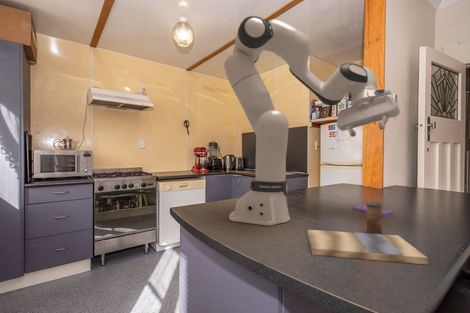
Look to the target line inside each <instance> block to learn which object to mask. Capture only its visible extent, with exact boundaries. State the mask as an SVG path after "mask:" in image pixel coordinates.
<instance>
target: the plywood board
mask: <svg viewBox="0 0 470 313" xmlns="http://www.w3.org/2000/svg"><path fill="white" fill-rule="evenodd" d="M307 238H308V241H309V242H308V243H309V246H310V250H311V254H312V255H313V256H324V257H326V256H327V257H337V258H346V259H347V258H349V259H356V260H358V259H360V260H368V261H369V260H370V261H371V260H372V261H382V262H393V263H394V262H395V263H403V264H404V263H405V264H416V265H428V264H429V258H428V257H427V256H426V255H425V254H423V253H422V252H421V251H420V250H418V249H417V248H415V247H414V246H412V245H411V244H410V243H409V242H407V241H406V240H405V239H403V238H402V237H401V236H399V235H394V234H383V233H382V234H369V233H367V232H366V233H364V232H353V231H352V232H351V231H338V230H337V231H336V230H321V229H320V230H319V229H307Z"/></svg>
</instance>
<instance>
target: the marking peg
mask: <svg viewBox="0 0 470 313" xmlns="http://www.w3.org/2000/svg"><path fill="white" fill-rule="evenodd" d="M366 206H367V213H366V233H369V234H382V235H383V216H382V209H383V203H381V202H377V201H367V202H366Z"/></svg>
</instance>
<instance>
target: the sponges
mask: <svg viewBox="0 0 470 313" xmlns="http://www.w3.org/2000/svg"><path fill="white" fill-rule="evenodd" d="M352 211H354V212H355V211H357V212H360V213H365V214H367V205H364V204H359V205H356V206H352ZM391 215H393V210H387V209H383V208H382V218H384V217H388V216H391Z"/></svg>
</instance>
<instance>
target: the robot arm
mask: <svg viewBox="0 0 470 313" xmlns="http://www.w3.org/2000/svg"><path fill="white" fill-rule="evenodd" d="M264 51H268V52H271V53H273V54H275V55H276V56H277V57H279V58H281V59H283V61H285V63H286V64H287V66H288V67H289V68H288V69H289V72H290V73H291V74H292V75H293V77H294V78H295V79H297V80H298V81H299V82H300V83H301V84H303V85H304V86H305V87H306V88H307V89H308V90H309V91H310V92H312V93H313V94H314V95H315V96H316V97H317V98H318V99H319V101H320V102H321V103H322V104H324V105H327V106H336V105H338V104H339V103H340V102H341V101H342V100H343V99H344V97H346V96H347V95H348V94H351V106H349V107H347V108H345V109H342V110H340V112H338V113H337V120H336V127H337V129H338V130H340V131H341V132H344V131H348V132H349V135H350V137H351V138H352V137H353V138H354V137H356V135H357V132H356V131H355V130H354V129H355V128H358V127H362V126H366V125H369V124H372V123H378V124H377V125H378V129H379V130H384V129H386V125H387V123H388V122H389V119H391V118H394V117H398V116H399V115H400V114H401V111H400V107H399V104H398V102H397V101H396V98H395V97H394V96H393V94H392V91H391V90H390V89H389V88H380V89H379V88H378V82H377V76H376V75H375V72H374V71H373V69H372V68H370V67H368V66H361V65H360V64H357V63H353V62H347V63H343V64H341V65H340V66H339V67H338V68H337V69H335V71H334V72H333V73H332V74H331V76H330V77H329V78H328V79H327V80H326V81H322V80H321V79H319V78H318V77H317V76H316V75H315V74H313V73H312V72H311V70H310V69H309V67H308V61H309V57H310V53H311V42H310V39H309V37H308V36H307V35H306V33H304V32H302V31H301V30H299V29H297V28H296V27H294V26H292V24H291V25H290V24H289V23H287V22H284V21H282V20H280V19H275V18H272V19H270V20H269V21H268V19H265V18H262V17H261V16H257V15H249V16H246V17H245V18H244V19H243V20H242V21H241V23H240V25H239V26H238V29H237V34H236V36H235V39H234V47H233V53H231V54H230V55H229V56H227V58H226V59H225V61H224V65H223V67H224V71H225V75H226V77H227V79H228V82H229V84H230V86H231V89H232V90H233V92H234V95H235V97H236V98H237V100H238V102H239V104H240V106H241V107H242V109H243V112H244V113H245V116H246V118H247V120H248V122H249V124H250V126H251V128H252V130H253V133H254V135H255V138H256V139H255V179H252V180H250V183H249V189H250V190H248V191H247V192H246V193H245V194H244V195H242V196H241V197H240V198H238V200H237V201H236V204H235V207H234V208H235V209H234V211H231V212H230V213H229V215H228V220H230V221H231V222H236V223H237V222H238V223H245V224H251V225H252V224H253V225H262V226H275V225H278V224H283V223H287V222H289V221H290V220H291V216H290V214H289V209H288V201H287V195H288V180H286V178H287V176H286V173H287V172H286V171H287V170H286V167H287V164H286V162H287V149H288V142H289V141H288V139H289V127H290V126H289V125H290V124H289V120H288V117H287V116H286V115H285V114H284V113H283V112H281V111H279V110H276V109H275V107H274V106H275V105H274V104H273V101H272V99H271V95H270V92H269V90H268V88H267V86H266V84H265V83H264V80H263V78H262V77H261V74H259V71H258V69H257V68H256V66H255V65H256V63H257V61H258V60H259V58H260V56H261V54H262V53H263V52H264ZM379 121H380V122H379Z"/></svg>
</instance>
